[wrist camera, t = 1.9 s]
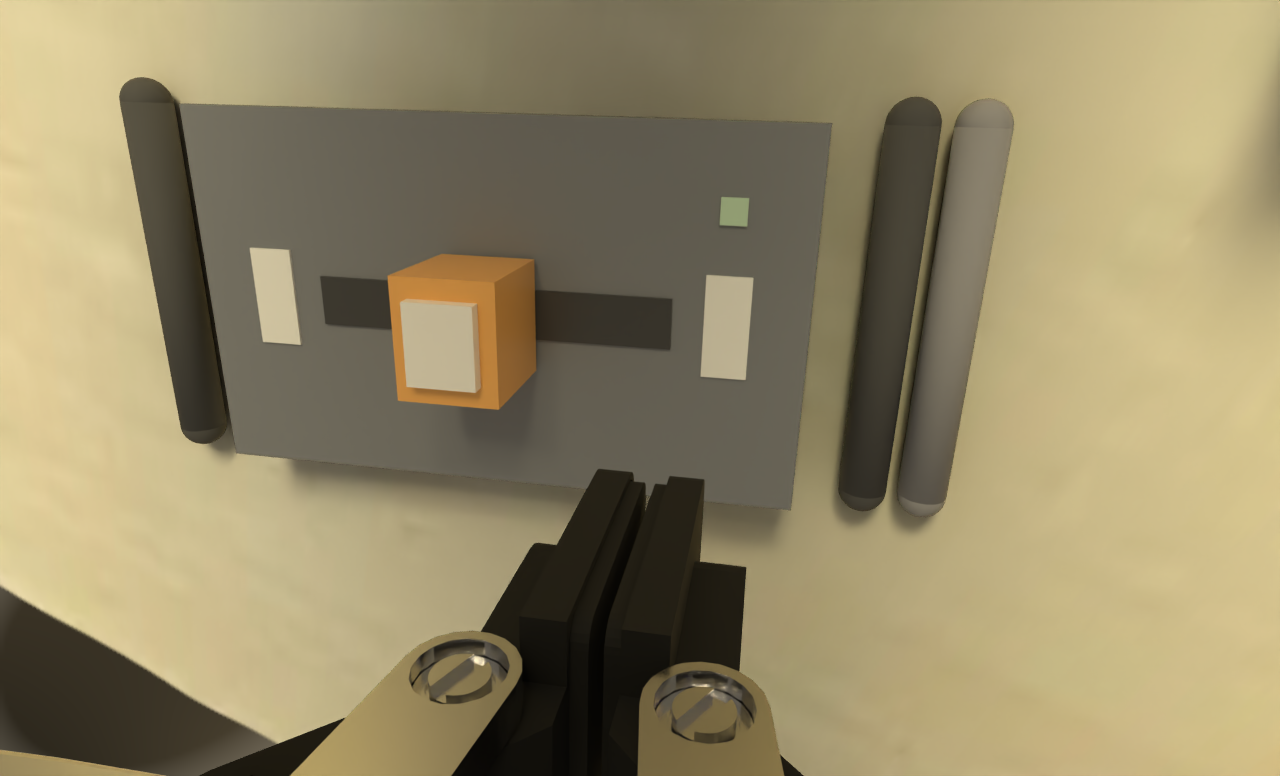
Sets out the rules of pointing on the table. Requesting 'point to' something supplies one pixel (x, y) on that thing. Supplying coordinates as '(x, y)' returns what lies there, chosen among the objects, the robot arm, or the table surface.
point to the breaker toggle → (463, 329)
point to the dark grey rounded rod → (174, 256)
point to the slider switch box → (564, 287)
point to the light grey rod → (954, 302)
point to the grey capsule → (888, 298)
